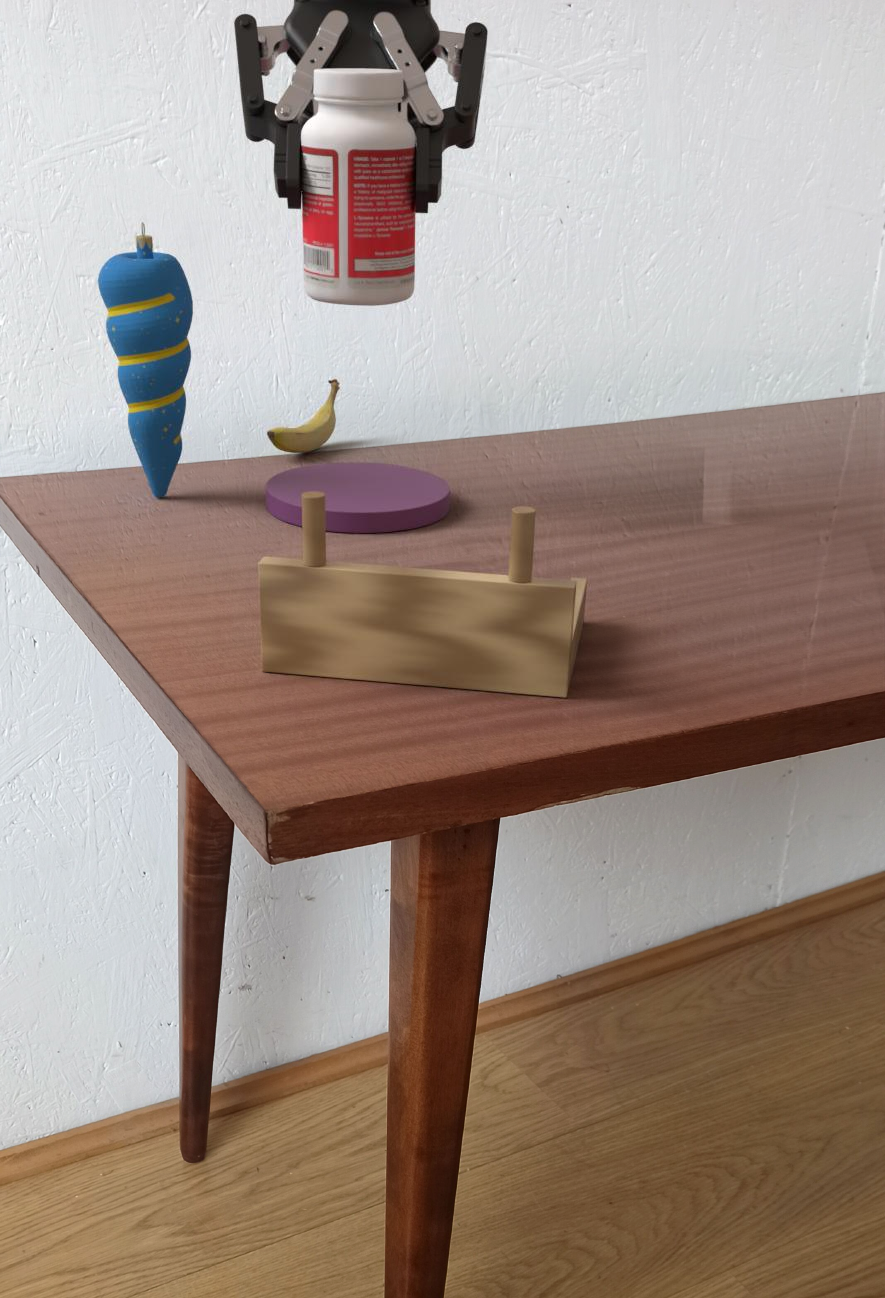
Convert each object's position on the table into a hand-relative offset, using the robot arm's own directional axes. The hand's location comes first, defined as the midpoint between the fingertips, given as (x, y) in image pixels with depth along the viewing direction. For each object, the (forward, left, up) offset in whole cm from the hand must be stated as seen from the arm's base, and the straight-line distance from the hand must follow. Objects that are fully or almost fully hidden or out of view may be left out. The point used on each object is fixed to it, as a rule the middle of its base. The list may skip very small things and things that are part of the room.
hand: (358, 200), depth 81 cm
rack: (-8, +20, -17) cm, 27 cm away
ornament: (+12, -1, -17) cm, 21 cm away
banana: (+6, -14, -17) cm, 23 cm away
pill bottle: (0, -2, -5) cm, 6 cm away
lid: (0, -2, -17) cm, 17 cm away
